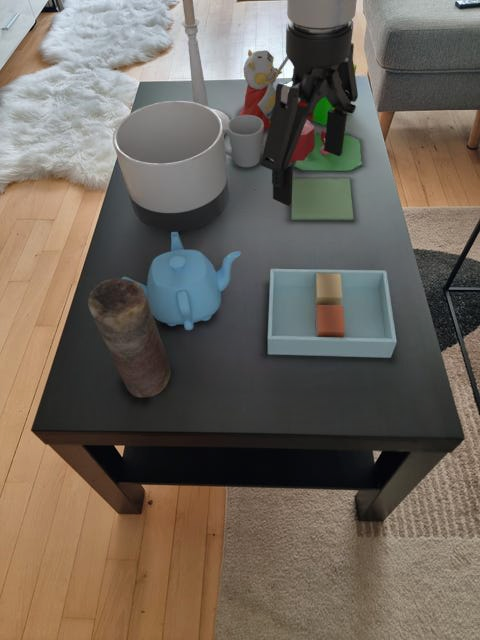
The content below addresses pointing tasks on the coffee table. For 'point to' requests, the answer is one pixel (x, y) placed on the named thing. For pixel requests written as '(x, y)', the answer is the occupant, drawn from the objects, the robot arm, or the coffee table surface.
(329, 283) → the birch piece
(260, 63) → the figurine
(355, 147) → the low-poly diorama
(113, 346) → the candle
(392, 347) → the box
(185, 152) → the planter
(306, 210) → the mat
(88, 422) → the coffee table surface
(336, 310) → the terracotta piece
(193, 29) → the candlestick
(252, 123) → the cup
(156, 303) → the teapot
